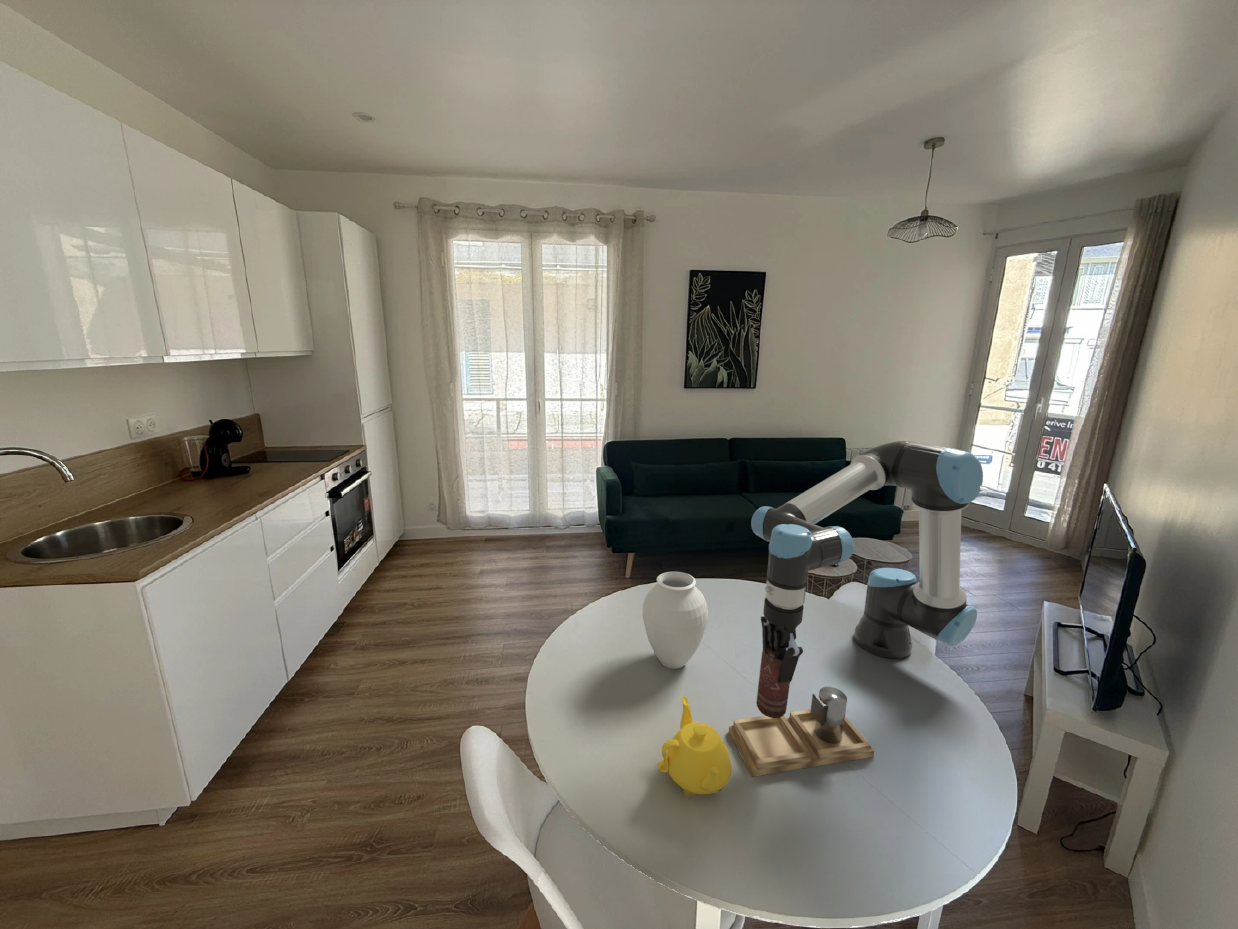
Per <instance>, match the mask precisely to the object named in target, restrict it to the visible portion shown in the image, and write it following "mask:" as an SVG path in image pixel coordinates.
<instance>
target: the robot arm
mask: <svg viewBox="0 0 1238 929" xmlns="http://www.w3.org/2000/svg"><path fill="white" fill-rule="evenodd" d="M983 479H984V472H983V467H982V464H981V462H980V460H979V459H978V457H977V456H975V455H974V454H973V453H971V452H969V451H965V450H961V449H958V448H956V447H945V446H938V445H933V444H926V443H921V442H916V441H910V440H899V441H892V442H888V443H885V444H884V443H883V444H881V445H877V446H875V447H872V448H871V449H868V450H865V451H863V452H862V453H860V454H858V455H857V456H855V457H853V459H852V460H851V462H850V464H849V465H847V466H846V467H844V468H842V469H841V470H839V471H838V472H836V473H834V474H832V475H830V476H828V477H827V478H825V479H824V480H822V481H821V482H818V483H817V484H815V485H814V486H812V487H811V488H808V489H807V490H805V491H804V492H802V493H800V494H799V495H798V496H795V497H794V498H792V499H790V500H789V501H787V502H785V503H784V504H782V505H781V506H778V507H777V508H774V507H773V506H768V505H767V506H761V507H759V508H758V509H756V511H755V512H754V513H753V515H752V517H751V524H750V526H751V529H752V530H751V531H752V532H753V533H754V534H755V536H758V537H759V538H761V539H763V540H764V541H766V542H769V544H768V559H767V560H768V561H767V563H768V564H767V572H766V584H765V587H764V592H765V593H764V595H765V598H764V600H763V601H764V604H763V611H762V614H763V616H760V623H761V628H762V631H761V632H762V636H761V637H762V651H763V650H764V648H765V647H766V646H767V645H769V649H771V650H772V651H773V652H774V651H775V657H776V658H777V659H778V660H780V659H783V662H782V665H781V668H780V672H779V678H778V681H779V683H782V682H790V683H791V682H792V681H793V678H794V674H795V671H796V668H797V665H798V662H799V658H800V657H801V656H802V655H803V652H804V650H803V647H802V646H798V644H797V641H796V639H797V630H796V629H797V627H799V626H800V624H801V623H802V622H803V616H804V604H805V602H806V590H807V581H808V572H810V571H814V570H817V569H821V568H825V567H830V566H834V565H838V564H840V563H842V562H845V561H847V560H848V559H850V558H851V557H852V555H853V554H854V551H855V550H854V549H855V543H854V540H853V537H852V536H851V534H850V532H849V531H848V530H846V528H844V527H841V526H838V525H836V526H835V525H834V526H832V525H831V526H826V527H822V526H820V525H816V524H818V523H819V522H821V521H823V519H825V518H827V517H829V516H830V515H831V514H833V513H835V512H836V511H837V510H839V509H841V508H842V507H845V506H846V505H847V504H849V503H851V502H853V501H854V500H855V499H857V498H858V497H860V496H861V495H863V494H865V493H867V492H869V491H870V490H871V491H876V490H879V489H881V488H882V487H885V486H893V487H894V486H896V487H900V488H903V489H906V490H910V491H911V493H910V494H911V502H912V504H913V505H914V506H915V507H916V508H918V537H919V538H918V540H919V541H918V546H919V548H918V551H919V553H918V554H919V556H918V558H919V559H918V560H919V562H918V563H919V582H918V581H917V580H918V579H917V576H916V575H915V574H914V573H913V572H911V571H908V570H905V569H902V568H895V567H881V568H880V567H879V568H876V569H874V570H871V572H870V573H869V576H868V579H867V580H868V582H866V596H865V601H864V608H863V609H864V610H863V615H862V616H861V617H860V620H859V622H858V624H857V625H856V626H855V628H854V634H853V639H854V641H855V642H856V644H858V645H859V646H860V647H861V648H862V649H863V650H865V651H867V652H869V653H871V654H873V655H876V656H878V657H883V658H886V659H887V658H888V659H896V660H897V659H905V658H907V657H908V656H910V655H911V653H912V649H913V642H912V637H911V633H910V632H911V631H910V628H913V629H915V630H916V631H919V632H920V633H922V634H924V635H926V636H928V637H929V638H932V639H934V640H935V641H937V642H941V643H943V644H944V645H945V644H946V645H947V646H951V647H953V646H957V645H959V644H960V643H962V642H963V641H964V640H965V639H966V638H967V637H968V635H969V634H970V633H971V631H973V630H972V629H973V628H974V626H975V624H976V621H977V618H978V611H977V610H978V609H976V608H975V607H974V606H973V605H971V604H970V605H969V604H967V594H966V591H965V590H964V589H963V588H962V587H960V583H961V582H960V581H961V579H960V577H961V575H960V574H961V540H962V536H961V535H962V534H961V533H962V511H963V510H965V509H966V508H967V507H968V506H969V505H970V503H972V502H974V500H976V499H977V497H978V496H979V494H980V492H981V487H982V486H983V482H984V481H983ZM771 650H770V651H771Z"/></svg>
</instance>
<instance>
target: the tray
mask: <svg viewBox="0 0 1238 929" xmlns="http://www.w3.org/2000/svg"><path fill="white" fill-rule="evenodd" d="M815 723H816V719H815V717H814V716H813V715H812V714H811V708H809V709H802V710H795V711H790V712H789V717H785V714H784V715H783V716H782V717H780V718H770V717H767V716H765V715H759V716H753V717H747V718H739V719H733V723H732V724H733V725H730V726H728V733H729V735H730V737H731V740H732V741H733V743H734V745H735V746H736V748H737V751H738V753H739V754H740V755H741V758H742V759H743V761H744V763H745V765H746V767H747V770H748V771H749V773H750V775H751V777H757V776H758V777H759V776H764V775H771V774H778V773H783V772H789V771H795V770H801V769H807V768H814V767H817V766H819V767H820V766H825V765H832V764H836V763H844V762H850V761H856V760H862V759H867V758H873V757H874V756H875V750H874V749H873V748H872V744H870V742H869V741H868V740H867V739H866V738H865V736H863V734H862V733H861V732H860V731H859V729H858V728H857V727H856V726H855V725H854V723H852V722H851V721H850V719H849V718H848V717H847V716H846V715H845V719H844V726H843V734H842V740H841V742H839V743H837V744H830V743H827V742H824V741H822V740H821V739H820V738H819V737H818V736H817V735H816V733H815Z"/></svg>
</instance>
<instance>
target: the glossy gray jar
mask: <svg viewBox="0 0 1238 929" xmlns="http://www.w3.org/2000/svg"><path fill="white" fill-rule="evenodd" d="M847 703H848V697H847V695H846V694H845V693H844V692H843V691H842V690H841V689H839V688H835V687H833V686H823V687H821V688H820V689H819V693H817V692H812V698H811V705H810V709H811V714H812V715H813V716H814V717H815V719H816V723H815V733H816V735H817V736H818V737H819V738H820V739H821V740H822V741H824V742H827V743H830V744H837V743H839V742H841V740H842V734H843V726H844V719H845V716H846V711H847Z"/></svg>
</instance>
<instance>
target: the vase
mask: <svg viewBox="0 0 1238 929" xmlns="http://www.w3.org/2000/svg"><path fill="white" fill-rule="evenodd" d="M696 584H697V580H696V578H695V577H693V576H692V575H691V574H689V573H686V572H682V571H676V570H675V571H667V572H663V573H661V574H659V575H658V576H657V577H656V584H655V585H654V586H652V587H651V588H650V589H649V591H647V594H646V596H645V598H644V600H643V604H642V605H643V606H642V621H643V626H644V629H645V634H646V637H647V639H648V642H649V644H650V646H651V649H652V650H653V652H654V654H655V657H657V659H658V660H659V661H660V663H661V664H662V665H663V666H664V667H666V668H669V669H674V670H675V669H680V668H683V667H684V666H685V665H686V664H687V663H688V662H689V661H690V660H691V659H692V658H693V656H694V655H695V653H696V651H697V649H698V648H699V646H700V644H701V642H702V640H703V637H704V634H705V630H706V628H707V624H708V620H709V609H708V603H707V601H706V599H705V596H704V594H703V593H702V592H701V591H700V590H699V588H697V587H696Z"/></svg>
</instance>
